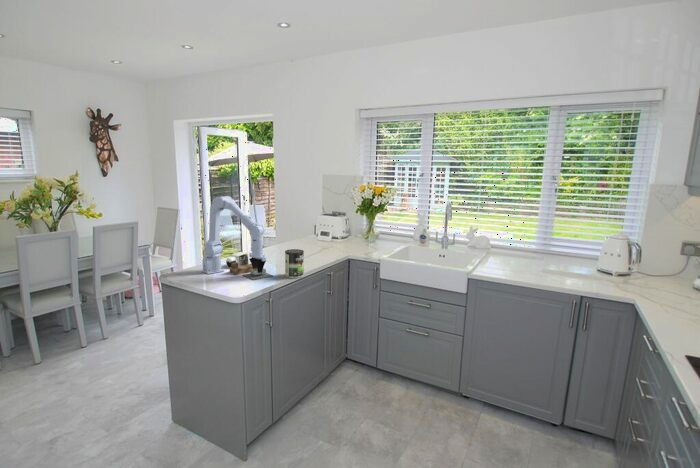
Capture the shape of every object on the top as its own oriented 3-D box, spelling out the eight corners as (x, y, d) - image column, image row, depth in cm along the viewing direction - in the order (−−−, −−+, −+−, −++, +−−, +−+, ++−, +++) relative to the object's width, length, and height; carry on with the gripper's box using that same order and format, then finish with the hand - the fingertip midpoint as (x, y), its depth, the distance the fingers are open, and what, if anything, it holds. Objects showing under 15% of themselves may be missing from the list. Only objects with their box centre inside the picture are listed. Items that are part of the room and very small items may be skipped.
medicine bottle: (249, 264, 228) (233, 269, 218) (241, 262, 232) (225, 268, 222) (247, 253, 226) (231, 258, 217) (240, 251, 230) (224, 256, 221)
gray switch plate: (253, 280, 196) (253, 279, 196) (242, 275, 205) (242, 274, 205) (273, 276, 205) (273, 275, 204) (261, 271, 213) (261, 271, 213)
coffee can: (307, 275, 209) (307, 250, 206) (295, 279, 200) (295, 253, 198) (293, 272, 214) (293, 248, 212) (281, 276, 205) (281, 251, 203)
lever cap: (254, 275, 201) (254, 269, 200) (250, 273, 204) (250, 268, 203) (265, 273, 205) (265, 267, 205) (261, 271, 209) (261, 266, 208)
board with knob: (235, 275, 206) (235, 264, 205) (229, 272, 211) (229, 262, 210) (262, 270, 217) (262, 260, 216) (256, 267, 222) (256, 257, 221)
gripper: (270, 248, 200) (271, 273, 202) (257, 244, 210) (257, 267, 212) (259, 250, 195) (259, 275, 197) (245, 246, 205) (246, 269, 207)
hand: (257, 271), depth 204 cm, fingers closed on lever cap, 4 cm apart
